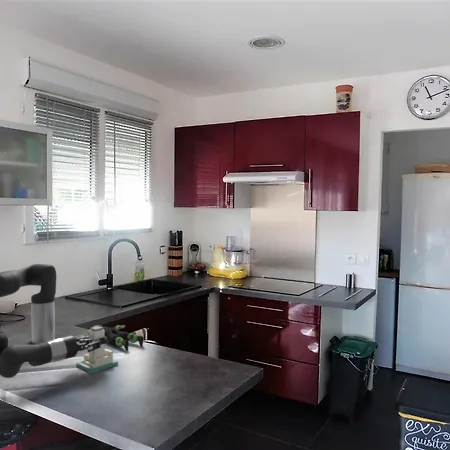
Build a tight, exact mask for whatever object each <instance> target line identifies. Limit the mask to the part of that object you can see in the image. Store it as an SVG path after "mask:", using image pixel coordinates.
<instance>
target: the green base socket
mask: <svg viewBox="0 0 450 450" xmlns="http://www.w3.org/2000/svg"><path fill="white" fill-rule="evenodd" d="M75 365H76V367H77V366H78V367H77V368H79V367H80V368H79V369H81V368H82V369H81V370H83V369H84V371H85V372H88V373H90V374H93V373H96V372H99V371H103V370H107V369H109V367H110V368H112V367H116V366H119V361H118V360H115V359H114V351H113V350H111V349H107V348H105V357H102V358H98V359H95V360H94V364H93V363H90V362H89V353H86V354H84V355H83V359H82V360H80V361H79V362H76V364H75Z"/></svg>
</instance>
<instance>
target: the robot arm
mask: <svg viewBox="0 0 450 450" xmlns="http://www.w3.org/2000/svg"><path fill="white" fill-rule="evenodd" d="M27 286H36V287H38V286H39V287H40V290H39V292H37V293H35V294H32V295H31V297H30V303H31V304H30V306H31V308H30V309H31V310H30V312H31V320H30V321H31V322H30V323H31V343H32V344H22V343H21V344H18V343H17V344H12V345H9V338H8V336H7V334H6V333H5V332H4V331H3V329H2V328H1V327H0V377H2V378H5V379H10V378H13V377H15V376H16V375H17V374H19V372H20V370H21V368H22V366H23V364H25V363H28V364H29V365H30V366H31V367H39V366H42V365H47V364H50V363H51V364H52V363H57V362H60V361H64V360H68V359H71V358H75V357H76V356H77V354H78V352H84V351H87V352H88V353H89V352H91V351H93V350H96V349H98V348H100V347H101V346H100V345H101V344H108V343H109V340H108V337H103V338H99V339H91V338H90V339H89V335H88V336H86V335H82V334H80V335H76V336H75V335H74V336H73V335H66V336H62V337H58V338H56V332H55V331H56V326H55V325H56V322H55V319H56V317H55V316H56V315H55V314H56V313H55V311H56V310H55V308H56V307H55V298H56V293H57V271H56V268H55V266H54V265H53V264H45V263H35V264H31V265H28V266H25V267H22V268H20V269H13V270H6V271H1V272H0V298H3V297H7V296H11V295H13V294H15V293H17V292H18V291H19V290H20V288H22V287H27ZM89 341H90V343H89Z"/></svg>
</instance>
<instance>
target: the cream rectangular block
mask: <svg viewBox="0 0 450 450" xmlns="http://www.w3.org/2000/svg"><path fill="white" fill-rule="evenodd" d="M103 327H104V326H103ZM103 327H99V326H96V327H93V326H92V327H90V328H89V329H88V333H89V339H90V338H91V339H99V338H103V337H105V336H104V329H103ZM89 343H90V341H89ZM105 344H106V343H105ZM105 344H101V345H100V346H101V347H100V348H98V349H96V350H93V351H91V352H88V354H89V362H90V363H93V364H94V360H95V359H98V358H102V357H105V349H106V347H105V346H106V345H105Z"/></svg>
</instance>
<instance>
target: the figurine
mask: <svg viewBox="0 0 450 450" xmlns="http://www.w3.org/2000/svg"><path fill="white" fill-rule="evenodd" d="M96 326H99V327H103V329H104V336H105V337H108V342H110V343H111V344H113V345H115V346H117V347H119V348H122V347H123V348H124V350H125V351H126V352H128V351H129V343H131V344H136V343H137V342H138V344H139V347H140V348H143V346H144V345H143V344H144V336H142V335H137V334H134V333H129V332H128V331H120V330H121V329H124V328H125V327H126V325H124V324H123V325H116V326H113V327H108V326H104V325H102V324H95V325H94V326H92V327H96ZM81 335H86V336H88V335H89V332H88V333H82V334H81Z"/></svg>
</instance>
